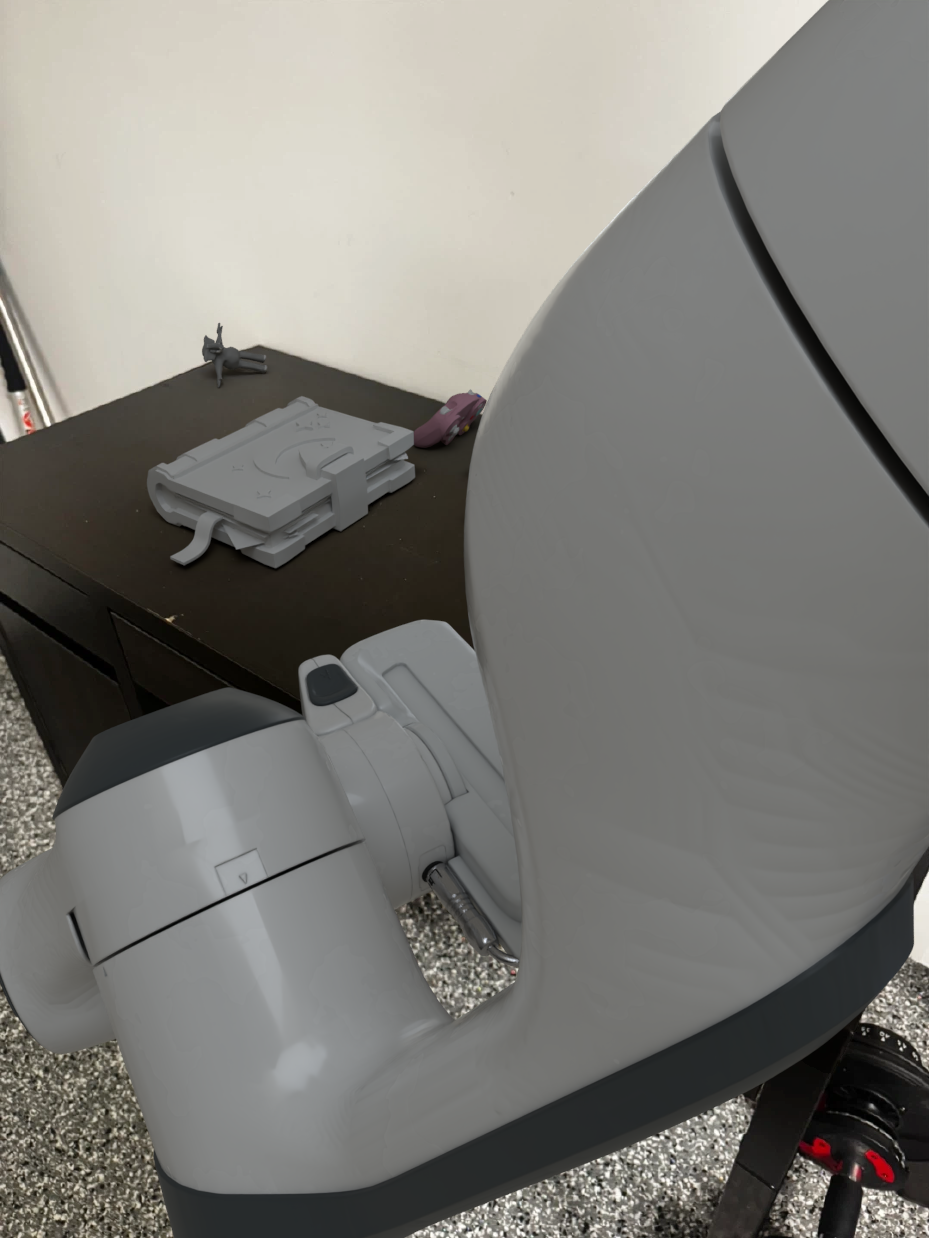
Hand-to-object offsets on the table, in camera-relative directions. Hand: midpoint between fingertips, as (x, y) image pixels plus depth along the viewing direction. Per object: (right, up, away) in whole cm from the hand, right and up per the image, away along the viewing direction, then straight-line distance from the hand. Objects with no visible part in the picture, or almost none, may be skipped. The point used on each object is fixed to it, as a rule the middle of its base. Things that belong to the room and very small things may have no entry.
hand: (609, 705), depth 47 cm
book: (-28, +16, +49) cm, 58 cm away
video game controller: (-9, +27, +63) cm, 69 cm away
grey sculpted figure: (-41, +39, +79) cm, 97 cm away
